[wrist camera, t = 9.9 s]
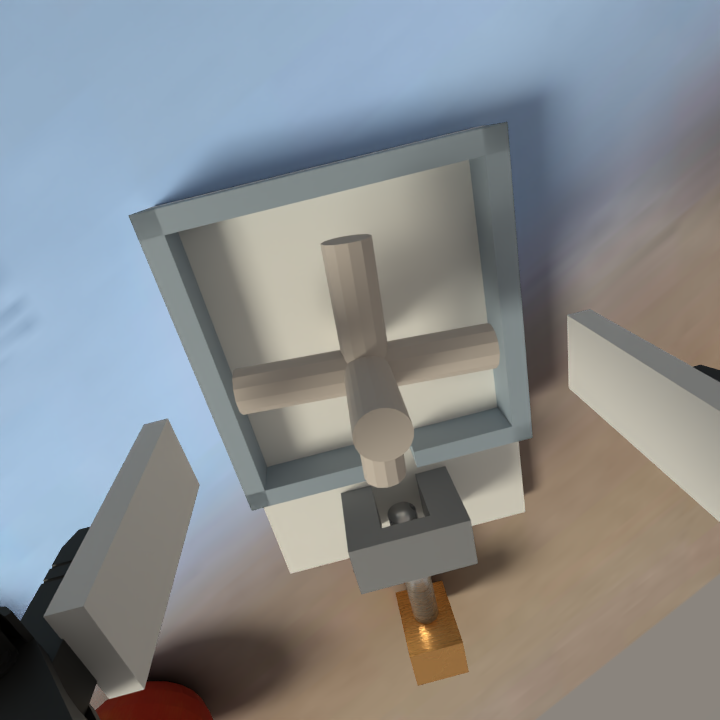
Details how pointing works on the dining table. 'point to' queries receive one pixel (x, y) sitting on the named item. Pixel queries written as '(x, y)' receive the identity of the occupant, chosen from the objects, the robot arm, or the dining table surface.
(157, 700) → the fruit
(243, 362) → the dock
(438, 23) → the dining table surface
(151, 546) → the robot arm
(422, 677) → the lock pin
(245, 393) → the pipe connector
